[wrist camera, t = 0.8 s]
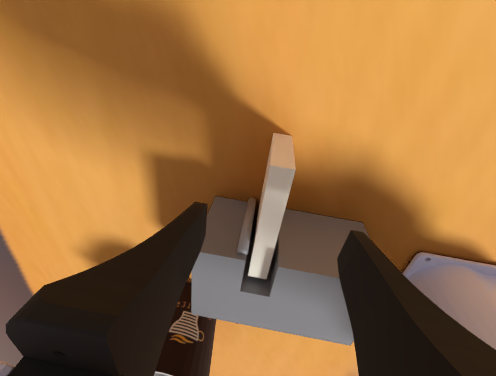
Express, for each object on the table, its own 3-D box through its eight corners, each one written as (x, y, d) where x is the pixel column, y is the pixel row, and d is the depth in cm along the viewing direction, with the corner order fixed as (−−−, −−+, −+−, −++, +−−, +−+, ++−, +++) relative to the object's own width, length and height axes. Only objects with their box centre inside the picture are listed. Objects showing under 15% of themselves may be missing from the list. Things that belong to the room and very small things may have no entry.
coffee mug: (240, 304, 31) (224, 401, 23) (198, 323, 35) (171, 413, 27) (170, 252, 28) (120, 345, 19) (132, 280, 31) (77, 368, 23)
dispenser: (365, 217, 22) (396, 282, 16) (335, 277, 26) (350, 345, 21) (215, 190, 22) (191, 244, 16) (211, 254, 27) (191, 314, 21)
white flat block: (292, 135, 19) (295, 169, 14) (269, 229, 24) (266, 279, 19) (273, 132, 19) (270, 165, 14) (255, 226, 24) (247, 275, 19)
